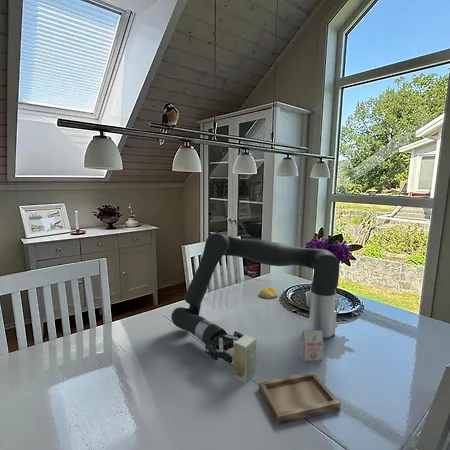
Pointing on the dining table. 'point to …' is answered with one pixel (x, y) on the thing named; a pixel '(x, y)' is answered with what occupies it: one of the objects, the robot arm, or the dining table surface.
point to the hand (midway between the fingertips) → (242, 354)
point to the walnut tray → (298, 397)
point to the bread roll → (268, 293)
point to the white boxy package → (311, 346)
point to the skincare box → (245, 358)
